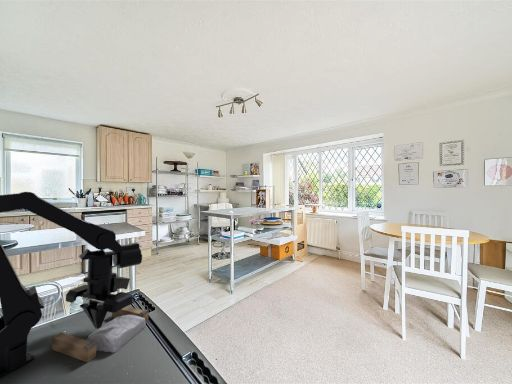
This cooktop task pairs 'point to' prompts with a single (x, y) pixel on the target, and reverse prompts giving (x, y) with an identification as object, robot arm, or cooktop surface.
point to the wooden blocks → (85, 348)
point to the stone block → (117, 333)
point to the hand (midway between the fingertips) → (98, 327)
